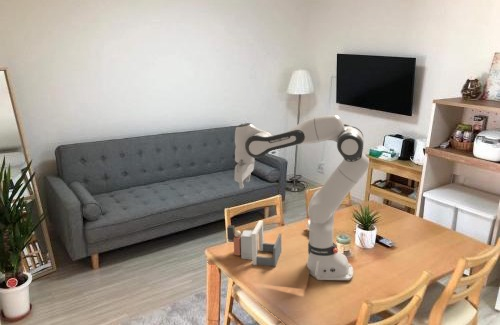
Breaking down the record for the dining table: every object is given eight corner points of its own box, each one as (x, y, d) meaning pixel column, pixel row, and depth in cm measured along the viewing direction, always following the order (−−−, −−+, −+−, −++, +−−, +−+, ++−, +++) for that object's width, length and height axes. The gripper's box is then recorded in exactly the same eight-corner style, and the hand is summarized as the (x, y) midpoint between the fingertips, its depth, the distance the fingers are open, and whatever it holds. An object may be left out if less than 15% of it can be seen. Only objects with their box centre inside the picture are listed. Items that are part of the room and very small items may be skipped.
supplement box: (255, 260, 193) (254, 237, 190) (241, 259, 195) (240, 236, 191) (258, 252, 200) (257, 230, 197) (244, 251, 202) (243, 229, 198)
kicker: (242, 250, 201) (241, 225, 197) (240, 255, 196) (239, 229, 192) (230, 249, 202) (229, 224, 198) (227, 254, 198) (226, 228, 194)
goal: (281, 251, 201) (281, 222, 197) (275, 267, 186) (275, 235, 182) (260, 249, 204) (259, 220, 200) (252, 264, 189) (251, 233, 185)
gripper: (244, 163, 172) (244, 193, 176) (256, 152, 191) (256, 179, 194) (230, 162, 174) (231, 191, 177) (244, 151, 192) (244, 178, 196)
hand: (244, 185), depth 186 cm, fingers open, 8 cm apart
